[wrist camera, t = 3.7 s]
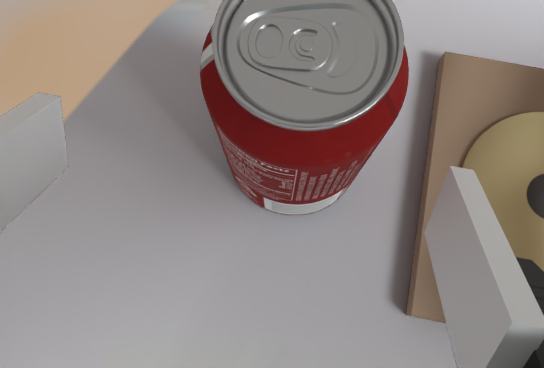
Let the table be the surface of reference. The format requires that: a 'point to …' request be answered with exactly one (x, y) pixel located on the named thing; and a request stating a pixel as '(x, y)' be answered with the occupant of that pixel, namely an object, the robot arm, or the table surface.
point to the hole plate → (484, 158)
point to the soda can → (302, 94)
